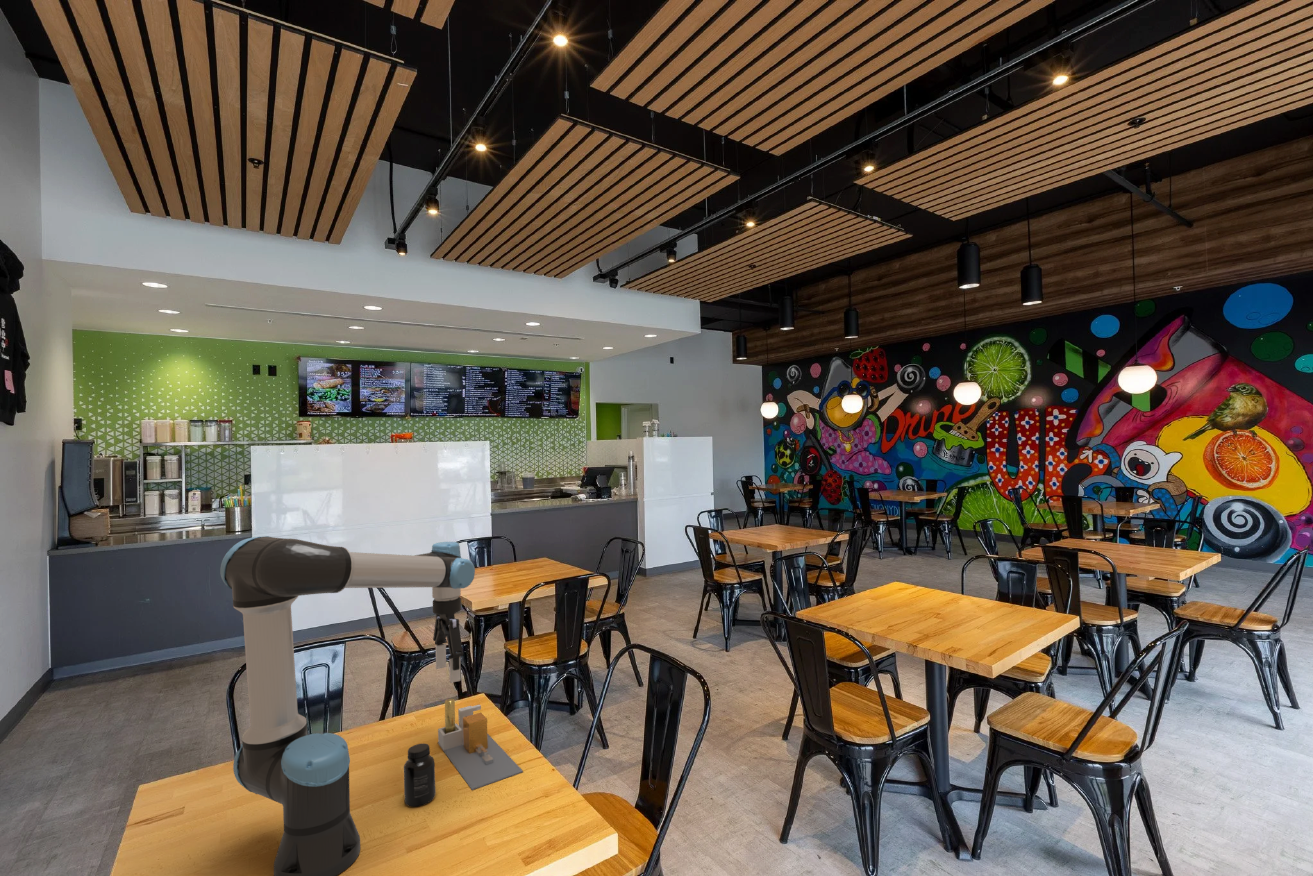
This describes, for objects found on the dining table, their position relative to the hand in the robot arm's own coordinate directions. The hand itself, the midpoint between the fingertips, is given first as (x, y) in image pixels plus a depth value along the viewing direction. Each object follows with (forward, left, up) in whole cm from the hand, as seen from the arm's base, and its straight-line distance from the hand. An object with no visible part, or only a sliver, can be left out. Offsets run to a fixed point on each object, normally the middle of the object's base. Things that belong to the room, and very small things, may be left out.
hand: (447, 674), depth 168 cm
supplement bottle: (-22, +13, -20) cm, 33 cm away
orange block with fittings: (-11, -5, -19) cm, 23 cm away
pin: (0, 0, -19) cm, 19 cm away
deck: (-11, -4, -20) cm, 23 cm away
